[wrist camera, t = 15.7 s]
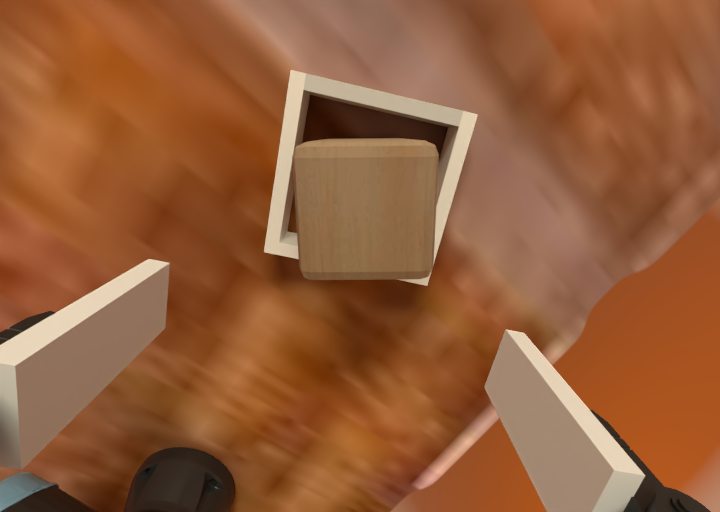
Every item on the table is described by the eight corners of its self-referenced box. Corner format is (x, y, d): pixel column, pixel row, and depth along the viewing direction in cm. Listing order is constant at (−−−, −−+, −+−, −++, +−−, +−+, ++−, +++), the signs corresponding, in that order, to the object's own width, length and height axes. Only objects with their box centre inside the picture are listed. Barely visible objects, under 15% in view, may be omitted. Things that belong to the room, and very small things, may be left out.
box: (273, 240, 47) (263, 252, 43) (298, 77, 42) (290, 69, 37) (420, 270, 48) (427, 285, 44) (464, 116, 43) (477, 114, 38)
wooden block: (323, 223, 47) (297, 285, 28) (320, 138, 44) (288, 142, 25) (404, 222, 47) (435, 284, 28) (407, 137, 44) (442, 140, 24)
